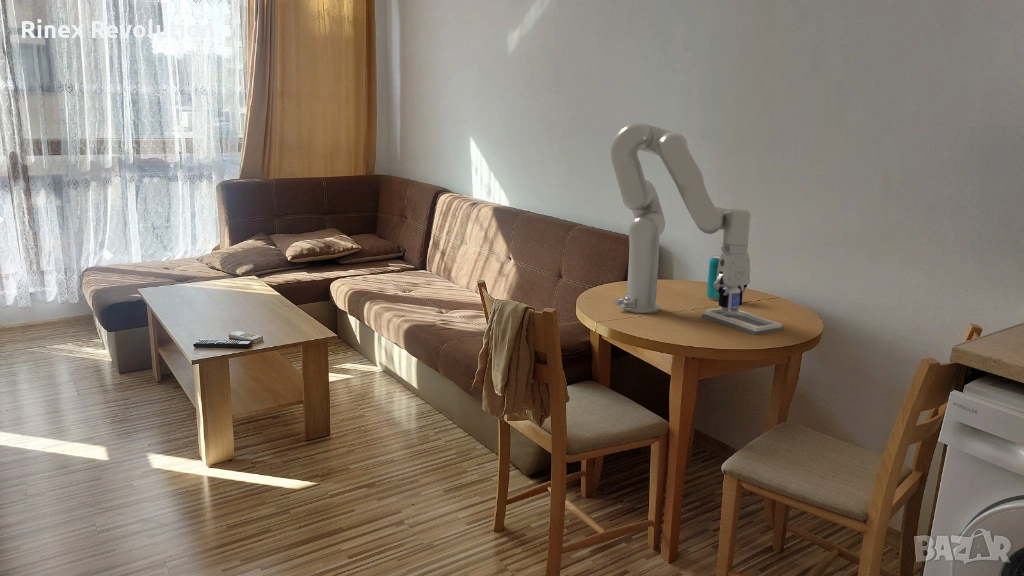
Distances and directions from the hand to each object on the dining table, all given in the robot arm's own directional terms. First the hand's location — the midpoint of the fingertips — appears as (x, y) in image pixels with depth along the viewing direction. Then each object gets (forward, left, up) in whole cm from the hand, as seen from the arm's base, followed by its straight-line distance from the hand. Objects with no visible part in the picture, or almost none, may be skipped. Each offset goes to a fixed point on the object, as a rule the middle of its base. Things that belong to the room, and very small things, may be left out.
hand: (730, 305), depth 235 cm
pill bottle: (0, 0, -2) cm, 2 cm away
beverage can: (+15, +22, -5) cm, 27 cm away
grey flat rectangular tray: (0, -5, -4) cm, 7 cm away
